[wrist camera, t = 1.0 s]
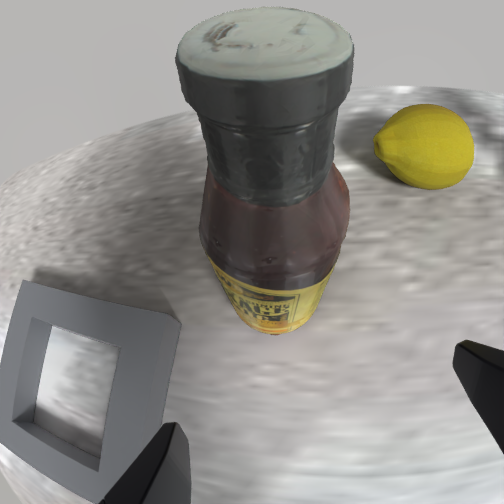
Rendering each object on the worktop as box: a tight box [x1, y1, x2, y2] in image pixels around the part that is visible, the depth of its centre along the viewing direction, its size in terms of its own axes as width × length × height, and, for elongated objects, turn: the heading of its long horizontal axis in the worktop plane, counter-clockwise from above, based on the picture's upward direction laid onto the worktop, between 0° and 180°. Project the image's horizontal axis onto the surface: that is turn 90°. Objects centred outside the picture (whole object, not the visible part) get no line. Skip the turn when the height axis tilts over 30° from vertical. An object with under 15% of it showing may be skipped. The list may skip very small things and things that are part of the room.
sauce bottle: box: [175, 7, 354, 335], centre depth 15 cm, size 6×6×20 cm
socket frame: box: [0, 280, 181, 504], centre depth 20 cm, size 16×16×3 cm
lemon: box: [373, 104, 474, 190], centre depth 24 cm, size 11×8×8 cm
